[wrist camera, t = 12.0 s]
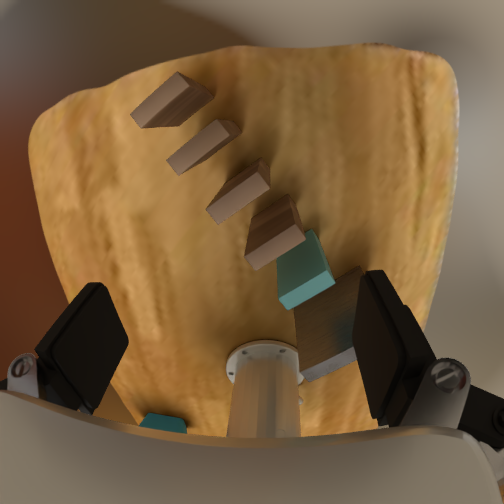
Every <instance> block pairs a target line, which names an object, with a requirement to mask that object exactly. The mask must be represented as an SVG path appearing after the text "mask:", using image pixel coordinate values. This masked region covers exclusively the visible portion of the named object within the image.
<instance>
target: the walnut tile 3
mask: <svg viewBox="0 0 504 504" xmlns="http://www.w3.org/2000/svg"><path fill="white" fill-rule="evenodd" d="M269 189H270V169H269V167H268V166H267V164H266V163H265V162H264V160H263V159H262V158H260V159H258V160H257V161H255V162H254V163H253V164H251V165H250V166H248V167H247V168H246V169H244V170H243V171H241V172H240V173H239V174H237V175H236V176H235V177H233V178H232V179H231V180H229V181H228V182H226V183H225V184H224V185H223V187H222V188H221V189H220V191H219V192H218V193H217V195H216V196H215V197H214V199H213V200H212V201H211V203H210V204H209V205H208V207H207V208H206V211H207V212H208V213H209V214H210V216H211V217H212V218H213V219H214V221H215V222H216V223H217V224H218V225H219V224H220V223H222V222H223V221H225V220H226V219H227V218H229V217H230V216H232V215H233V214H234V213H236V212H237V211H239V210H240V209H242V208H243V207H244V206H246V205H247V204H249V203H250V202H252V201H253V200H254V199H256V198H257V197H259V196H260V195H262V194H263V193H265V192H266V191H268V190H269Z"/></svg>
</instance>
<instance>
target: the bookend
mask: <svg viewBox="0 0 504 504" xmlns="http://www.w3.org/2000/svg"><path fill="white" fill-rule="evenodd" d="M362 275H364V273H363V271H362V269H361V268H360V266H357V267H356V268H354V269H353V270H351V271H349V272H348V273H346V274H344V275H343V276H341V277H339V278H338V279H336V280H335V284H334V285H332V286H330V287H328V288H327V289H325V290H323V291H322V292H320V293H318V294H316V295H315V296H313V297H311V298H309V299H308V300H306V301H304V302H302V303H301V304H299V305H297V306H295V307H294V317H295V327H296V337H297V348H298V360H299V372H300V374H301V375H302V376H303V377H304V378H305V379H306V380H307V381H308V382H311V381H313V380H315V379H318V378H320V377H322V376H324V375H326V374H329V373H331V372H333V371H335V370H337V369H339V368H341V367H343V366H345V365H347V364H349V363H351V362H353V361H355V360H357V357H356V354H355V350H354V347H353V343H352V331H353V325H354V319H355V312H356V305H357V298H358V291H359V283H360V277H361V276H362Z"/></svg>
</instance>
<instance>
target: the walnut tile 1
mask: <svg viewBox="0 0 504 504" xmlns="http://www.w3.org/2000/svg"><path fill="white" fill-rule="evenodd" d="M213 98H214V97H213V96H212V94H211V93H210V92H209V91H208V90H207V88H206V87H204V86H202V85H201V84H199V83H197V82H195V81H194V80H192V79H190V78H188V77H186V76H184V75H182V74H181V73H179V72H176V73H175V74H174V75H172V76H171V77H170V78H169V79H168V80H167V81H165V82H164V83H163V84H162V85H161V86H160V87H159V88H157V89H156V90H155V91H154V92H153V93H152V94H151V95H150V96H149V97H147V98H146V99H145V100H144V101H143V102H142V103H141V104H140V105H139V106H138V107H137V108H136V109H135V110H134V111H133V112H132V113H131V114H130V115H131V117H132V118H133V119H134V120H135V122H136V123H137V124H138V126H139V127H140V128H155V127H173V126H180V125H181V124H182V123H183V122H185V121H186V120H187V119H188V118H189V117H191V116H192V115H193V114H194V113H195V112H197V111H198V110H199V109H200V108H202V107H203V106H204V105H206V104H207V103H208V102H209V101H211V100H212V99H213Z"/></svg>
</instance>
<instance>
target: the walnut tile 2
mask: <svg viewBox="0 0 504 504" xmlns="http://www.w3.org/2000/svg"><path fill="white" fill-rule="evenodd" d="M241 133H242V132H241V130H240V129H239V128H238V127H237V125H236V124H235V123H234V121H228V120H221V119H216V120H214V121H213V122H212V123H210V124H209V125H208V126H207V127H205V128H204V129H203V130H202V131H200V132H199V133H198V134H197V135H195V136H194V137H193V138H192V139H190V140H189V141H188V142H187V143H186V144H184V145H183V146H182V147H181V148H180V149H178V150H177V151H176V152H175V153H174V154H173V155H172V156H170V157H169V158H168V159H167V160H166V161H167V162H168V163H169V165H170V166H171V167H172V168H173V170H174V171H175V172H176V173H177V175H178V176H179V175H181V174H183V173H184V172H186V171H188V170H189V169H191V168H193V167H195V166H196V165H198V164H200V163H202V162H203V161H205V160H207V159H208V158H209V157H211V156H212V155H213V154H214V153H216V152H217V151H218V150H220V149H221V148H222V147H224V146H225V145H226V144H228V143H229V142H230V141H232V140H233V139H234V138H236V137H237V136H238V135H240V134H241Z"/></svg>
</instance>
